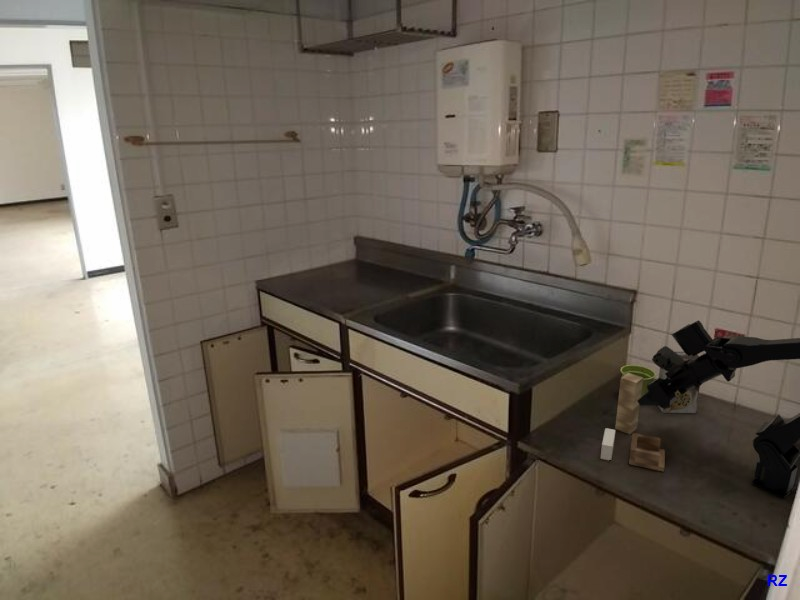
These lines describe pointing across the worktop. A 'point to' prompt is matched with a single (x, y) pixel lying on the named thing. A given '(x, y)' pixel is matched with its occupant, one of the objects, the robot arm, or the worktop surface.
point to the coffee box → (686, 400)
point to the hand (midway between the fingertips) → (646, 396)
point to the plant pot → (642, 372)
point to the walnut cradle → (647, 452)
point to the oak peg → (628, 403)
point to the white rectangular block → (607, 444)
